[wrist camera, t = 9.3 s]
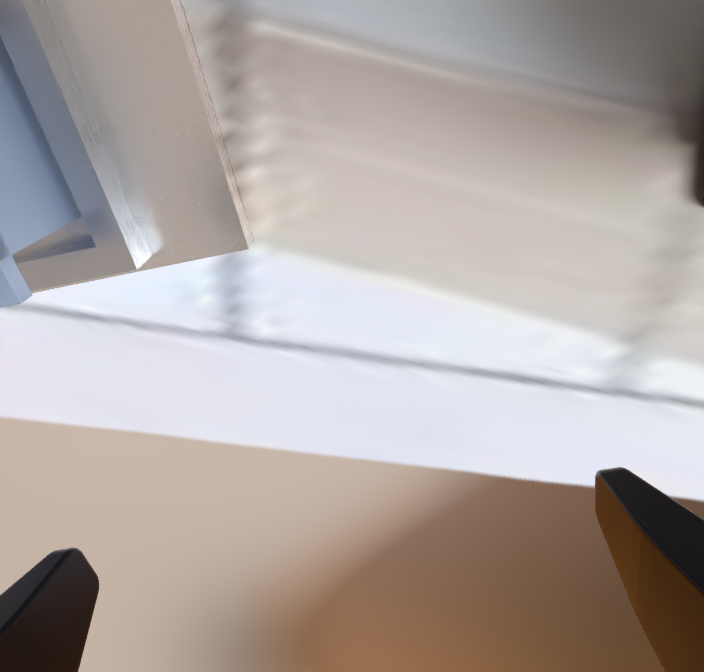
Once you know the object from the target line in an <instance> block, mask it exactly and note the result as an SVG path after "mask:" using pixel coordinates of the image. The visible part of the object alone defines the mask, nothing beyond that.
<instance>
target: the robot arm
mask: <svg viewBox="0 0 704 672" xmlns="http://www.w3.org/2000/svg"><path fill="white" fill-rule="evenodd" d="M703 204H704V198H703ZM595 511H596V516H597V520H598V522H599V525H600V528H601V530H602V533H603V535H604V538H605V540H606V542H607V545H608V548H609V550H610V553H611V555H612V558H613V560H614V563H615V565H616V568H617V570H618V573H619V575H620V578H621V580H622V583H623V585H624V588H625V590H626V593H627V595H628V598H629V600H630V603H631V605H632V608H633V610H634V612H635V615H636V616H637V619H638V621H639V623H640V625H641V627H642V629H643V631H644V633H645V635H646V636H647V639H648V640H649V642H650V644H651V646H652V648H653V650H654V652H655V654H656V656H657V658H658V660H659V661H660V663H661V665H662V667H663V669H664V671H665V672H704V519H702V518H701V517H699V516H698V515H696V514H695V513H693V512H692V511H690V510H689V509H687V508H685V507H684V506H682V505H681V504H679V503H678V502H676V501H675V500H673V499H672V498H670V497H669V496H667V495H666V494H664V493H663V492H661V491H660V490H658V489H656V488H655V487H653V486H652V485H650V484H649V483H647V482H646V481H644V480H643V479H641V478H640V477H638V476H637V475H635V474H634V473H632V472H631V471H629V470H627V469H625V468H622V467H618V468H611V469H604V470H600V471H598V472H597V473H596V476H595ZM98 591H99V580H98V576H97V575H96V573H95V572H94V570H93V568H92V567H91V565H90V564H89V562H88V561H87V559H86V558H85V556H84V555H83V553H82V552H81V551H80V550H79V549H77V548H69V549H61V550H56V551H53V552H51V553H50V554H49V555H47V556H46V557H45V558H44V559H43V560H42V561H40V562H39V563H38V564H37V565H36V566H34V568H32V569H31V570H30V571H28V572H27V573H26V574H25V575H24V576H23V577H21V578H20V579H19V580H18V581H17V582H16V583H14V584H13V585H12V586H11V587H10V588H8V589H7V590H6V591H5V592H4V593H3V594H1V595H0V672H78V669H79V666H80V662H81V658H82V654H83V650H84V646H85V643H86V639H87V635H88V631H89V627H90V623H91V619H92V615H93V611H94V607H95V603H96V599H97V595H98Z"/></svg>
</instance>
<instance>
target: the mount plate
mask: <svg viewBox="0 0 704 672" xmlns="http://www.w3.org/2000/svg"><path fill="white" fill-rule="evenodd" d="M0 39H1V41H2V43H3V45H4V47H5V50H6V52H7V54H8V56H9V58H10V61H11V63H12V65H13V67H14V69H15V72H16V74H17V76H18V78H19V80H20V83H21V85H22V87H23V89H24V91H25V94H26V96H27V98H28V100H29V103H30V105H31V107H32V109H33V111H34V114H35V116H36V118H37V120H38V122H39V125H40V127H41V129H42V131H43V133H44V136H45V138H46V140H47V142H48V144H49V147H50V149H51V151H52V153H53V155H54V158H55V160H56V162H57V164H58V166H59V169H60V171H61V173H62V175H63V177H64V180H65V182H66V184H67V186H68V188H69V191H70V193H71V195H72V197H73V199H74V202H75V204H76V206H77V208H78V211H79V213H80V215H81V217H80V218H78V219H76V220H75V221H73V222H71V223H69V224H67V225H65V226H64V227H62V228H60V229H58V230H56V231H54V232H53V233H51V234H49V235H47V236H45V237H43V238H42V239H40V240H38V241H36V242H34V243H32V244H30V245H29V246H27V247H25V248H23V249H21V250H19V251H18V252H16V253H14V254H12V255H11V256H12V258H13V260H14V261H15V263H16V265H17V267H18V269H19V271H20V273H21V274H22V276H23V278H24V280H25V282H26V284H27V286H28V288H29V289H30V291H31V293H35V292H40V291H44V290H49V289H54V288H59V287H64V286H69V285H74V284H79V283H84V282H89V281H94V280H99V279H103V278H108V277H113V276H118V275H123V274H128V273H133V272H138V271H143V270H148V269H153V268H158V267H162V266H167V265H172V264H177V263H182V262H187V261H192V260H197V259H202V258H207V257H212V256H217V255H221V254H226V253H231V252H236V251H241V250H246V249H249V247H250V246H251V244H252V242H253V241H254V240H253V237H252V233H251V230H250V227H249V224H248V220H247V217H246V214H245V210H244V207H243V204H242V201H241V197H240V194H239V191H238V188H237V184H236V181H235V178H234V175H233V171H232V168H231V165H230V162H229V158H228V155H227V152H226V148H225V145H224V142H223V139H222V135H221V132H220V129H219V126H218V122H217V119H216V116H215V113H214V109H213V106H212V103H211V100H210V96H209V93H208V90H207V86H206V83H205V80H204V77H203V73H202V70H201V67H200V64H199V60H198V57H197V54H196V51H195V47H194V44H193V41H192V37H191V34H190V31H189V28H188V24H187V21H186V18H185V15H184V11H183V8H182V5H181V2H180V0H0Z"/></svg>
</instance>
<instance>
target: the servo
mask: <svg viewBox="0 0 704 672" xmlns="http://www.w3.org/2000/svg"><path fill="white" fill-rule="evenodd" d="M80 217H81V215H80V213H79V211H78V208H77V206H76V204H75V202H74V199H73V197H72V195H71V193H70V191H69V188H68V186H67V184H66V182H65V180H64V177H63V175H62V173H61V171H60V169H59V166H58V164H57V162H56V160H55V158H54V155H53V153H52V151H51V149H50V147H49V144H48V142H47V140H46V138H45V136H44V133H43V131H42V129H41V127H40V125H39V122H38V120H37V118H36V116H35V114H34V111H33V109H32V107H31V105H30V103H29V100H28V98H27V96H26V94H25V91H24V89H23V87H22V85H21V83H20V80H19V78H18V76H17V74H16V72H15V69H14V67H13V65H12V63H11V61H10V58H9V56H8V54H7V52H6V50H5V47H4V45H3V43H2V41H1V39H0V308H2V307H7V306H12V305H17V304H21V303H22V302H24V301H25V300H26V299H28V298H29V297H31V296H32V293H31V291H30V289H29V288H28V286H27V284H26V282H25V280H24V278H23V276H22V274H21V273H20V271H19V269H18V267H17V265H16V263H15V261H14V260H13V258H12V256H11V255H12V254H14V253H16V252H18V251H19V250H21V249H23V248H25V247H27V246H29V245H30V244H32V243H34V242H36V241H38V240H40V239H42V238H43V237H45V236H47V235H49V234H51V233H53V232H54V231H56V230H58V229H60V228H62V227H64V226H65V225H67V224H69V223H71V222H73V221H75V220H76V219H78V218H80Z"/></svg>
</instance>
